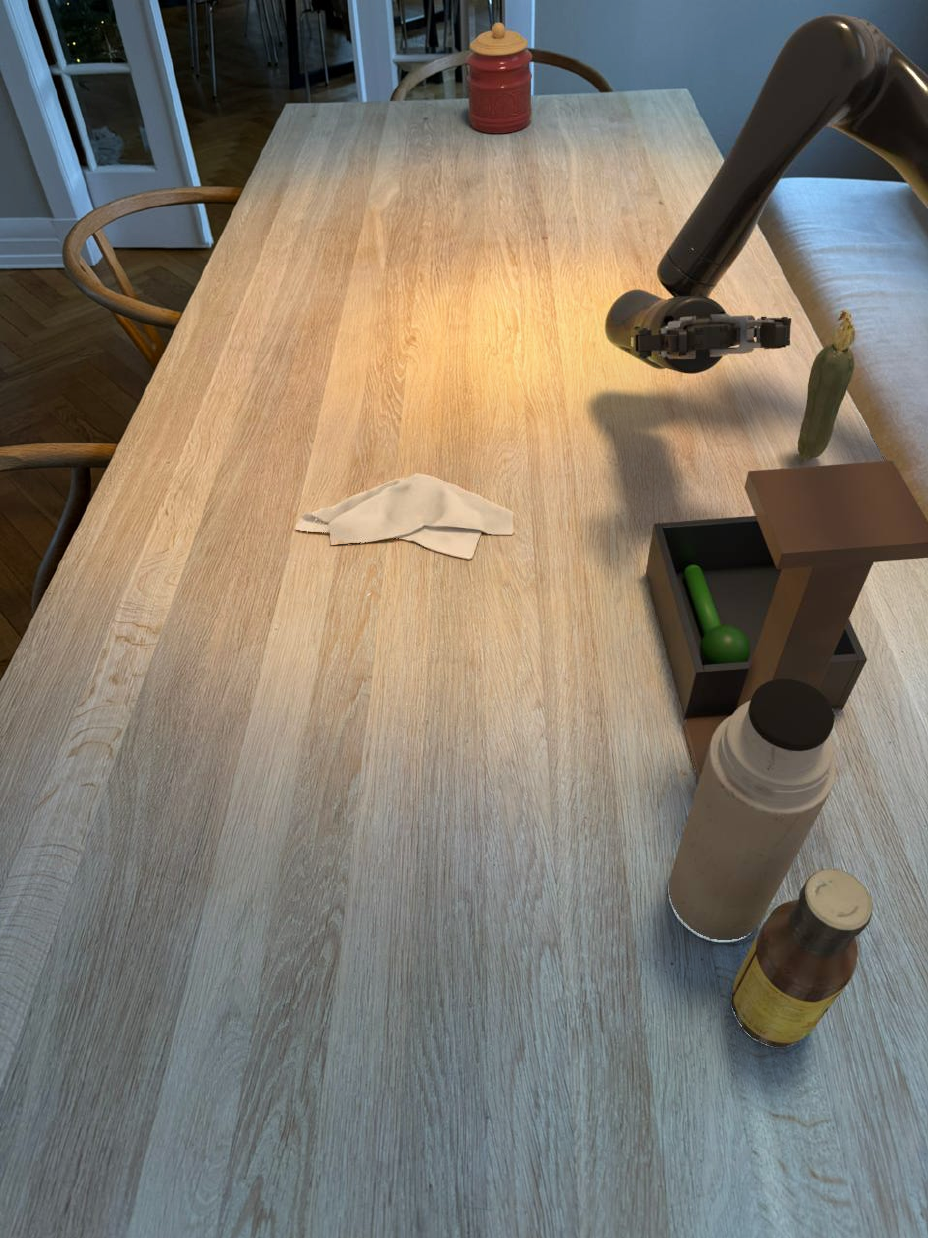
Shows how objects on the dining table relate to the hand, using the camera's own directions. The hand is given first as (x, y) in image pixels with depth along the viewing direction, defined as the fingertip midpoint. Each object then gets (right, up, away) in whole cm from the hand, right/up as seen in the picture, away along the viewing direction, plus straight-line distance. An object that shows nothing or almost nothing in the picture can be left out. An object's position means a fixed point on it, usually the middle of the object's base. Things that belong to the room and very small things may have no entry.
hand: (731, 339), depth 78 cm
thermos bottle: (-2, -48, -3) cm, 48 cm away
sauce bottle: (0, -55, -9) cm, 56 cm away
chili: (+2, -26, +14) cm, 30 cm away
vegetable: (+18, -5, +32) cm, 37 cm away
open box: (+5, -26, +14) cm, 31 cm away
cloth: (-30, -12, +29) cm, 44 cm away
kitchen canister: (-16, +78, +104) cm, 131 cm away
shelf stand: (+3, -38, +5) cm, 38 cm away
